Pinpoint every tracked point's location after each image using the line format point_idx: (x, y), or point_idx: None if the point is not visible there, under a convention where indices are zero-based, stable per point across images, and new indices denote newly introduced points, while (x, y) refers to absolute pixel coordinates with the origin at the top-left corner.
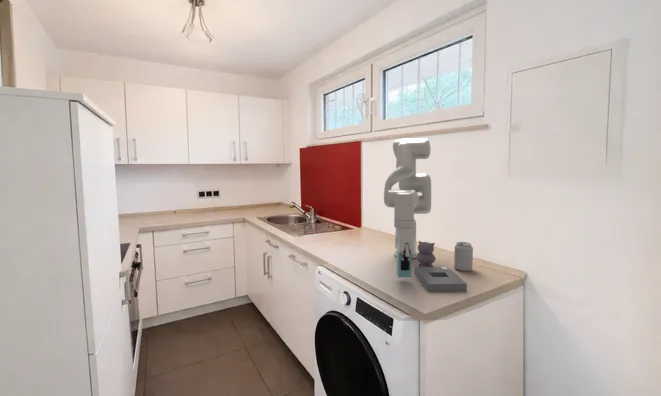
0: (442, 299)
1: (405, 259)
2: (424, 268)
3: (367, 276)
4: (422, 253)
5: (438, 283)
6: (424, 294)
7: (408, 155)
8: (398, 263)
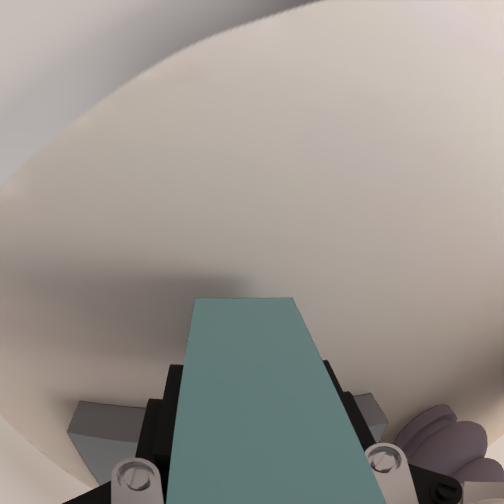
0: (21, 411)
1: (97, 497)
2: None
3: (377, 57)
4: (453, 476)
5: (90, 465)
6: (43, 372)
7: None
8: (195, 393)
